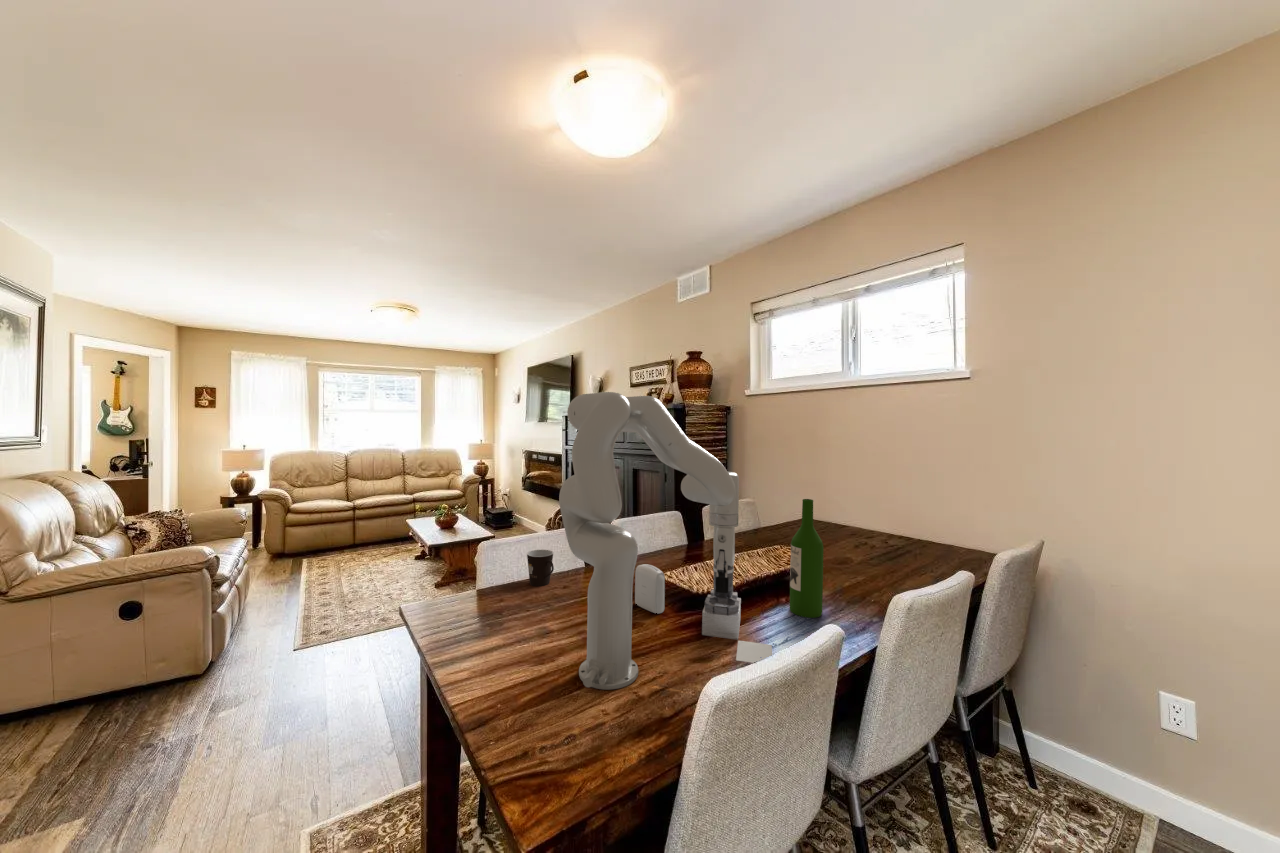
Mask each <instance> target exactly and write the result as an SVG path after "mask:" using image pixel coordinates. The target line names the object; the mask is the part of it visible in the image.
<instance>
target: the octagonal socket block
mask: <svg viewBox="0 0 1280 853" xmlns="http://www.w3.org/2000/svg"><path fill="white" fill-rule="evenodd" d="M741 604H742V598H741V597H738V592H737V591H733V596H732V597H731V598H718V597H716V596H714V595H713V589H711V591H710V594H707V596H706V597H705V600H704V607H703V609H702V614H701V615H702V619H701V622H702V623H701V635H702V636H707V637H715V638H716V637H717V638H723V639H729V640H730V639H731V640H737V641H738V640H739V636H740V629H741V628H740V627H741V626H740V624H741V612H742V609H741V608H742V607H741Z"/></svg>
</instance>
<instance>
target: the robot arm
mask: <svg viewBox="0 0 1280 853" xmlns="http://www.w3.org/2000/svg"><path fill="white" fill-rule="evenodd" d="M566 411H567V414H566V415H567V418H568V421H569V423H570V424H571V425H572V427H573V428H574V429H576V430H577V433H576V435H575V437H574V441H573V444H572V449H571V460H572V468H573V473H574V474H573V475H571V476H569V477H568V478H567V479H566V480H564V482H563V484H562V486H561V487H560V490H559V496H558V497H559V498H558V499H559V500H558V503H559V509H560V514H561V519H562V523H563V527H564V531H565V536H566V541H567V543H568V547H569V549H570V550H571V552H572V554H573V556H574V557H576V558H577V559H579V560H581V561H583V562H585V563H587V564H589V565H590V566H593V573H592V575H591V578H590V580H589V584H588V587H587V615H586V616H587V622H586V623H587V624H586V625H587V626H586V659H585V660H584V661H583V662H581V664H580V666H579V668H578V676H579V679H580V680H581V682H582V683H583V686H584V687H585V688H593V689H597V690H598V689H599V690H606V691H608V690H609V691H610V690H618V689H622V688H625V687H627V686H629V685H631V684H632V683H634V682H635V680H637V678H638V676H639V667H638V664H637V662H635V661H634V660H633V659H632V639H633V638H632V631H633V630H632V629H633V628H632V627H633V589H634V588H633V586H634V585H633V584H634V575H635V571H636V568H635V567H636V564H637V559H638V555H639V553H638V552H639V548H638V543H637V541H636V538H635V537H634V536H633V534H632V533H631V532H630V531H628V530H627V529H626V528H623V527H621V526H618V525H615V524H613V523H612V522H614V521H615V520H616V519H617V518H618V517H619V516H620V514H621V511H622V506H623V502H622V494H621V491H620V490H621V488H620V485H619V480H618V475H617V470H616V466H615V465H616V464H615V458H614V449H615V448H614V447H615V444H616V441H617V439H618V437H619V435H620V434H621V433H636V434H638V435H639V436H640V437H641V439H642V440H643V441H644V443H645V444H646V445H647V446H648V447H649V448H650V450H651V451H652V452H653V454H655V456H656V457H657V459H658V460H659V461H660V462H661V463H663V464H664V465H666V466H668V467H670V468H672V469H674V470H676V471H679V472H681V473H684V474H686V475H685V476H684V477H683V478H682V480H681V483H680V491H681V493H682V495H683V496H684V497H685V498H686V499H687V500H689V501H692V502H696V503H701V504H706V505H709V515H708V516H709V518H708V519H709V522H708V524H709V525H710V526H711V527H713V535H712V536H713V539H712V540H713V541H712V542H713V548H712V549H713V565H714V564H715V565H717V573H716V592H719V593H728V584H729V577H727V576H728V565H730V566H731V567H732V566H733V567H734V564H735V560H736V559H735V557H736V554H735V553H736V551H735V550H736V547H735V546H736V534H735V533H736V530H735V528H737V527H739V510H740V509H739V508H740V507H739V506H740V504H739V502H740V495H739V494H740V477H739V475H738V474H737V473H736V472H733V471H728V470H727V469H726V467H725V466H724V465H723V463H722V462H721V461H720V460H719V459H718V458H716V457H715V456H714V455H713V454H711V453H710V452H708V451H707V450H706V449H704V448H703V447H702V446H700V445H699V444H697V443H696V442H695V441H693V440H691V439H690V438H689V437H688V436H687V435H686V434H685V432H684V431H683V430H682V428H681V427H680V425H679V424H678V423H677V421H676V420H675V419H674V417H673V416H672V415H671V413H670V412H669V410H668V409H667V408H666V407H665V405H664V404H663V403H662V401H661V400H660V399H658V398H657V397H654V396H651V395H639V396H638V395H637V396H625V395H624V394H622V393H619V392H614V391H604V392H603V391H602V392H601V391H600V392H593V393H583V394H579V395H577V396H575V397H574V398H573V399H571V401H570V403H569V405H568V407H567V410H566ZM724 563H726V565H724ZM724 567H725V569H724Z"/></svg>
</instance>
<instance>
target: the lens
mask: <svg viewBox="0 0 1280 853" xmlns="http://www.w3.org/2000/svg"><path fill="white" fill-rule="evenodd" d="M724 565H726V563H724ZM712 567H713V568H712V570H713V587H712V588H713V589H712V590H713V595H714V596H716V597H718V598H731V597H732V596H733V592H734V586H733V585H734V572H735V567H734V565H733V566H732V567H731V566H730V565H728V576H727V577H729V584H728V593H719V592H716V573H717V565H715V564H714V563H713V566H712ZM724 569H725V567H724Z"/></svg>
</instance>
